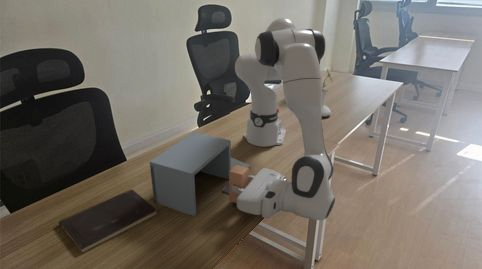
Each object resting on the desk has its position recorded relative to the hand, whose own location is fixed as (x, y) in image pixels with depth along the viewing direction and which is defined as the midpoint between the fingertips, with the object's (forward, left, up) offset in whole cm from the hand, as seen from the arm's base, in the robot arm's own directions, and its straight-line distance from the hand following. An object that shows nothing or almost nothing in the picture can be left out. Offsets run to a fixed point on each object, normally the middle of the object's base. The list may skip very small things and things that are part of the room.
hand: (236, 182), depth 103 cm
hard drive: (-20, -12, -8) cm, 25 cm away
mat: (-9, -1, -8) cm, 12 cm away
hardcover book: (+25, -30, -8) cm, 40 cm away
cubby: (0, -16, -8) cm, 18 cm away
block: (0, +1, -6) cm, 6 cm away
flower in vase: (-92, +6, -8) cm, 93 cm away
